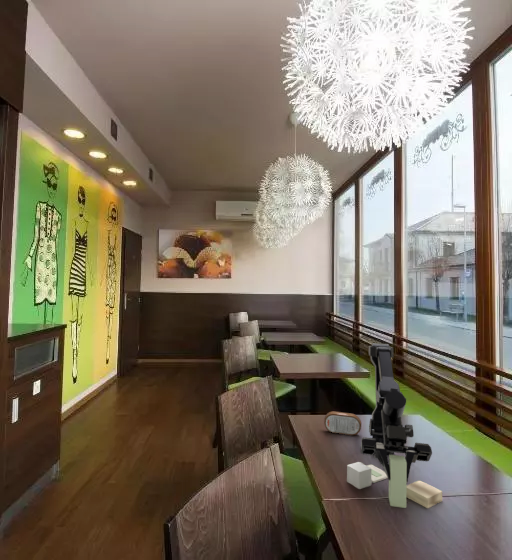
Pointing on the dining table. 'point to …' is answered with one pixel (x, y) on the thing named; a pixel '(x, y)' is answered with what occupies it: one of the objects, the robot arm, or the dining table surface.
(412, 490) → the maple base
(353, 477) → the grey cube
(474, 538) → the dining table surface
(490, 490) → the dining table surface
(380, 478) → the card
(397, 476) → the sage block
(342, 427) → the tin
